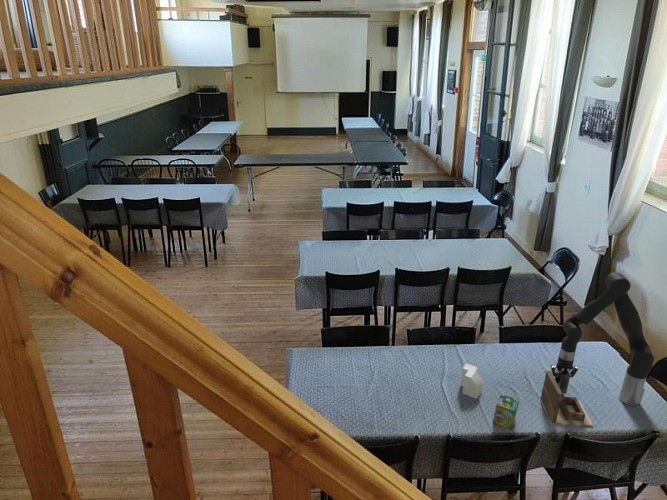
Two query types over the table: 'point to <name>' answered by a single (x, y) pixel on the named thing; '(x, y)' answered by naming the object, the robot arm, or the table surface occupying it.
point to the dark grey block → (563, 381)
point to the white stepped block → (471, 381)
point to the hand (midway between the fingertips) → (561, 382)
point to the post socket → (562, 405)
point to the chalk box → (505, 411)
